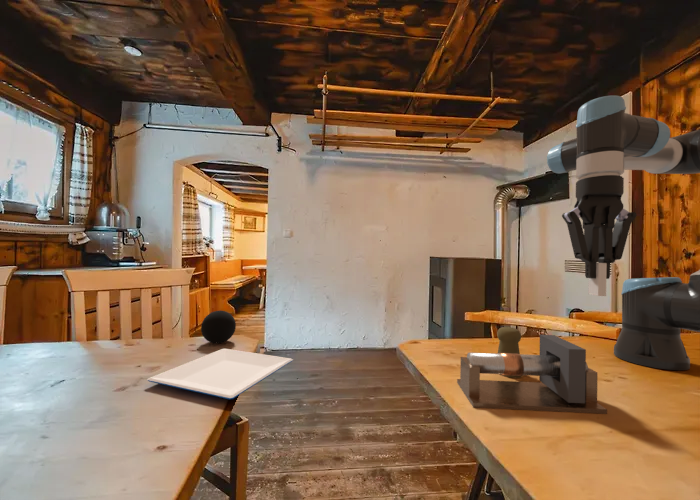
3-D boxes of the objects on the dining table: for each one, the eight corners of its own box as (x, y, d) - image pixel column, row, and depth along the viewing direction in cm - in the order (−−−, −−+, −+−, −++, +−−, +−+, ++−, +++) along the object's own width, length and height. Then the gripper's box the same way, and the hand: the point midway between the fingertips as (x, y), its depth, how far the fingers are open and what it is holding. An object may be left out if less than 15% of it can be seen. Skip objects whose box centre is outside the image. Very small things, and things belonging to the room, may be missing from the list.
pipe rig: (568, 387, 67) (569, 347, 67) (607, 413, 56) (607, 366, 56) (457, 382, 69) (457, 344, 69) (473, 407, 58) (473, 361, 58)
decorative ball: (196, 348, 90) (197, 314, 90) (205, 338, 100) (206, 308, 100) (232, 346, 92) (233, 313, 92) (237, 337, 102) (238, 307, 102)
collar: (553, 380, 67) (554, 335, 67) (585, 403, 57) (585, 349, 57) (539, 380, 67) (539, 334, 67) (568, 402, 57) (569, 349, 57)
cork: (526, 379, 72) (527, 331, 72) (498, 376, 73) (499, 330, 73) (517, 369, 78) (518, 325, 78) (492, 367, 79) (492, 324, 79)
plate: (145, 388, 65) (145, 378, 65) (223, 355, 86) (223, 347, 86) (231, 408, 57) (231, 397, 57) (293, 366, 78) (293, 358, 78)
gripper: (618, 182, 65) (616, 293, 65) (554, 182, 66) (552, 291, 66) (650, 173, 58) (648, 298, 58) (577, 173, 59) (575, 296, 58)
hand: (597, 294), depth 62 cm, fingers closed
